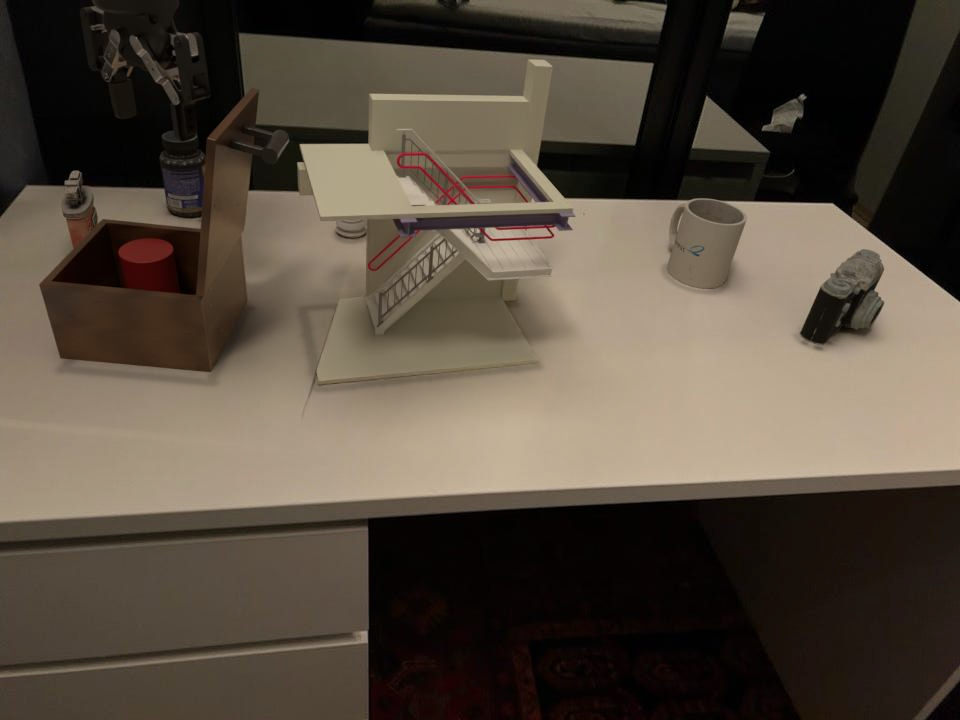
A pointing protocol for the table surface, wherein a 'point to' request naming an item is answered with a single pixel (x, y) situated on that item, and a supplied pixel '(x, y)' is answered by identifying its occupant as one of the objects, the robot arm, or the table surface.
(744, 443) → the table surface
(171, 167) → the pill bottle
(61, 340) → the chest
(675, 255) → the mug
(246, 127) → the lid
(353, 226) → the rook chess piece
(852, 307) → the camera
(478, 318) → the staircase
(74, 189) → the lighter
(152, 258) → the can
